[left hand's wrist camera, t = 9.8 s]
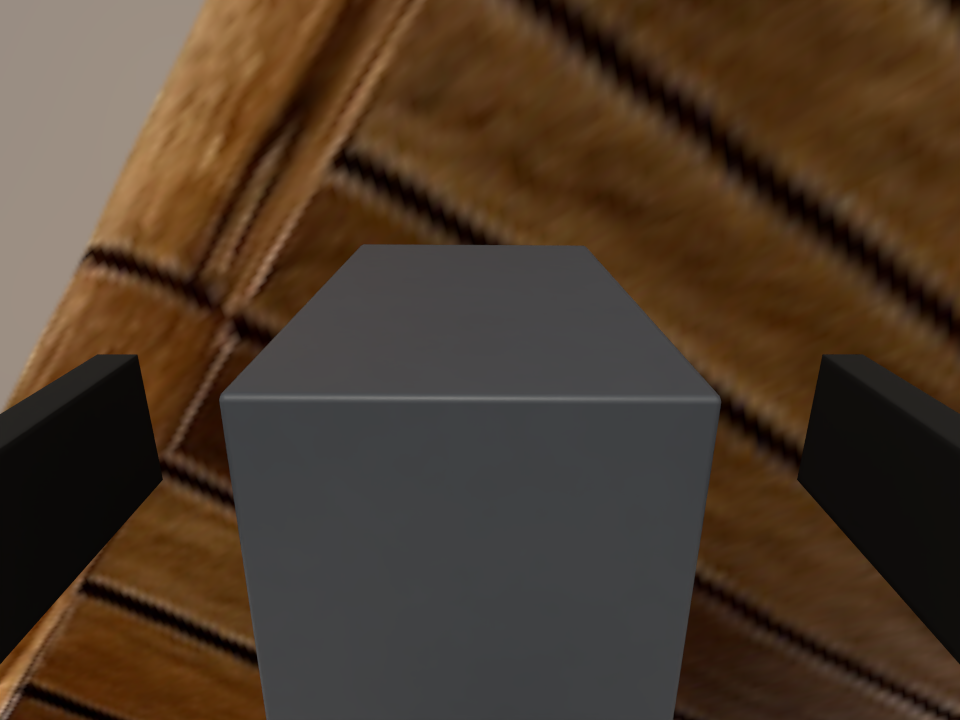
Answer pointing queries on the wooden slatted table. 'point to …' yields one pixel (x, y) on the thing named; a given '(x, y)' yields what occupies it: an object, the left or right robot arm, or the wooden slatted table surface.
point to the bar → (470, 492)
